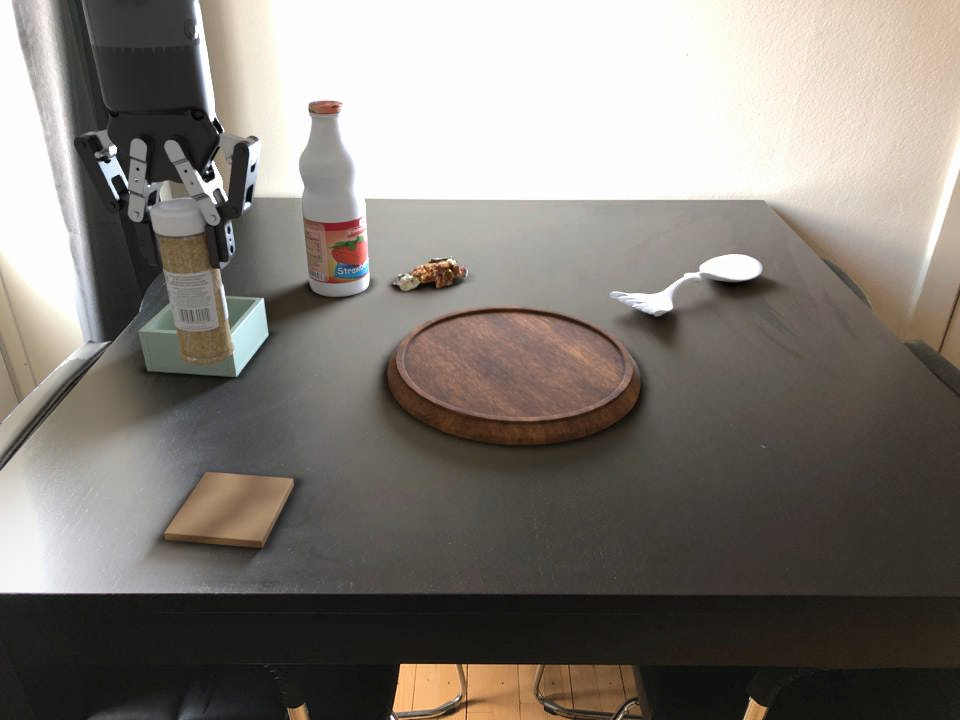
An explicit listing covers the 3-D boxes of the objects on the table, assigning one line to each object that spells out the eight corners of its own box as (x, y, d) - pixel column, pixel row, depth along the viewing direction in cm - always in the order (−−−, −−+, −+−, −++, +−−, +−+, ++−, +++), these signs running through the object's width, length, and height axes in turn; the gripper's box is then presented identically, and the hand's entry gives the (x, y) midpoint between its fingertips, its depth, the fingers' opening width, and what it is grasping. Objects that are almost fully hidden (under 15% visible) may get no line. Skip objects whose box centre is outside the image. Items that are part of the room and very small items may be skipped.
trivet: (165, 541, 67) (163, 533, 66) (207, 479, 75) (205, 471, 74) (262, 549, 66) (261, 541, 66) (294, 486, 74) (293, 478, 74)
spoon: (605, 311, 112) (607, 290, 110) (724, 262, 130) (727, 243, 129) (653, 332, 106) (657, 310, 104) (770, 278, 124) (775, 258, 123)
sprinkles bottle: (243, 345, 66) (221, 197, 60) (219, 370, 62) (192, 214, 56) (196, 340, 67) (168, 193, 60) (169, 364, 63) (136, 210, 56)
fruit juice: (329, 271, 123) (314, 95, 110) (380, 280, 120) (371, 100, 107) (298, 292, 115) (277, 105, 102) (351, 302, 112) (337, 111, 99)
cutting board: (472, 480, 75) (472, 460, 74) (347, 351, 99) (345, 334, 98) (694, 396, 90) (698, 378, 89) (540, 301, 114) (541, 286, 113)
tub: (147, 372, 93) (137, 331, 90) (187, 331, 103) (180, 292, 100) (236, 378, 92) (230, 337, 89) (268, 336, 102) (263, 297, 99)
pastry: (387, 283, 119) (386, 262, 118) (448, 266, 126) (448, 246, 124) (411, 297, 115) (411, 276, 113) (473, 280, 121) (473, 259, 119)
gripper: (266, 34, 55) (290, 252, 63) (81, 29, 56) (129, 244, 64) (226, 45, 48) (259, 287, 57) (18, 39, 49) (80, 277, 58)
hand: (190, 263), depth 60 cm, fingers closed on sprinkles bottle, 4 cm apart
